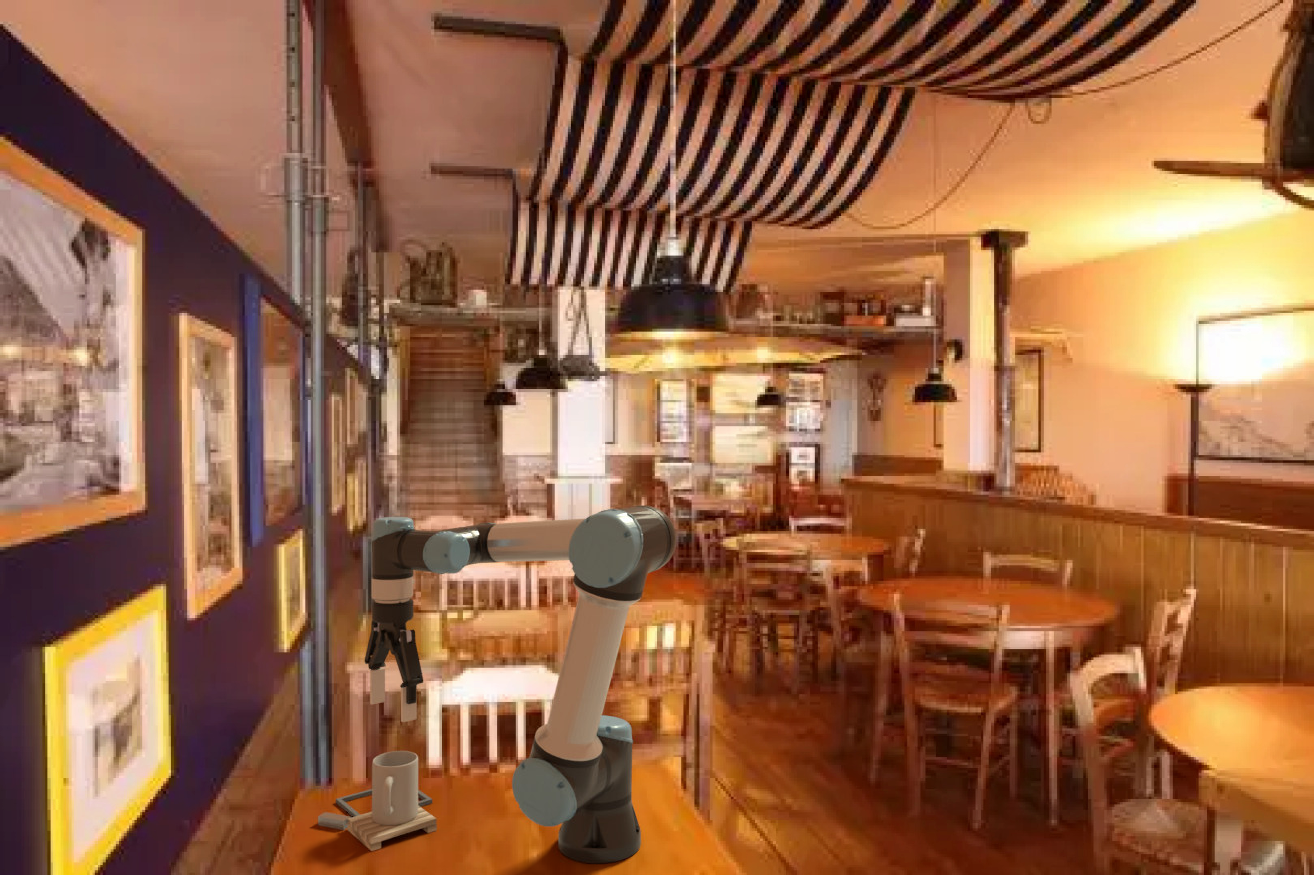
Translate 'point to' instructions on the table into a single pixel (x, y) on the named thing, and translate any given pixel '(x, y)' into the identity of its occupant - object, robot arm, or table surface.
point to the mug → (394, 788)
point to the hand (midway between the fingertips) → (392, 711)
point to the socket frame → (352, 812)
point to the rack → (387, 828)
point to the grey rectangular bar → (333, 820)
